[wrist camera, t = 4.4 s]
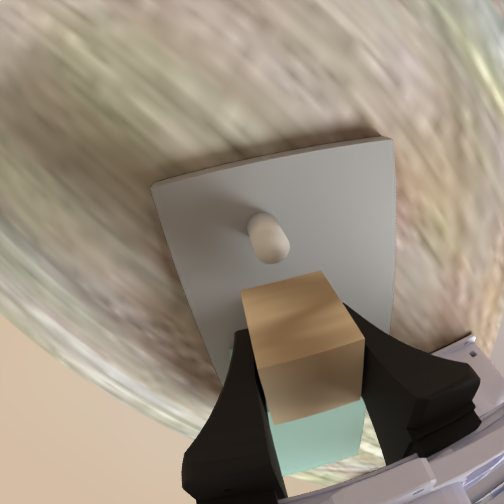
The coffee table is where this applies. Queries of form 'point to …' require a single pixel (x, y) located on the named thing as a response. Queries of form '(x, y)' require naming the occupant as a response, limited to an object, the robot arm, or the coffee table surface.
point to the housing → (318, 437)
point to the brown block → (304, 346)
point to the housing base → (283, 231)
